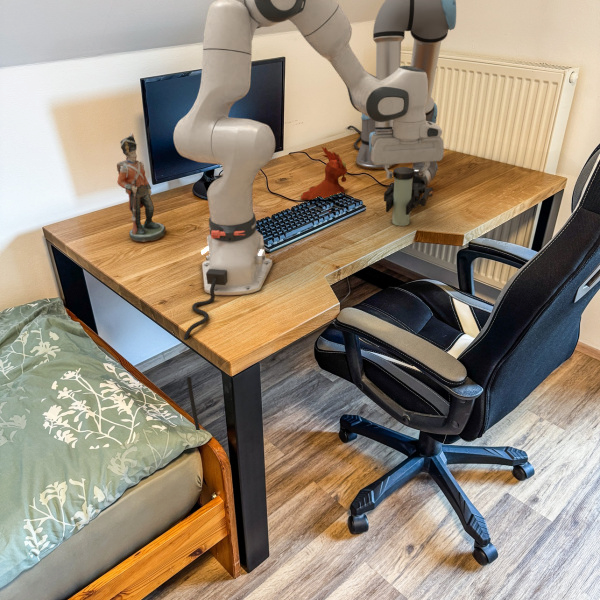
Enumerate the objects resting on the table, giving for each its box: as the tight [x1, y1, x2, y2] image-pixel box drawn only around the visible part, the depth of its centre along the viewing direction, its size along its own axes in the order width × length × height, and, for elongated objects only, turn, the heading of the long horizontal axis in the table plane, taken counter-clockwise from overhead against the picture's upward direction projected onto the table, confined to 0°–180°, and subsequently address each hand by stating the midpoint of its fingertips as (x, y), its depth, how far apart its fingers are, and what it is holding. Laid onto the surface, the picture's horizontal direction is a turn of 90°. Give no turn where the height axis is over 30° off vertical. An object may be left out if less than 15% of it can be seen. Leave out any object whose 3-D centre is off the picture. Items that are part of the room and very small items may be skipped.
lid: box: [392, 166, 415, 179], centre depth 162 cm, size 6×6×2 cm
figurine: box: [116, 132, 166, 243], centre depth 161 cm, size 11×11×30 cm
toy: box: [300, 146, 348, 201], centre depth 188 cm, size 13×18×15 cm
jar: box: [391, 177, 413, 227], centre depth 166 cm, size 5×5×16 cm
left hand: (405, 177), depth 162 cm, fingers open, 8 cm apart
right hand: (397, 209), depth 163 cm, fingers closed on jar, 5 cm apart
